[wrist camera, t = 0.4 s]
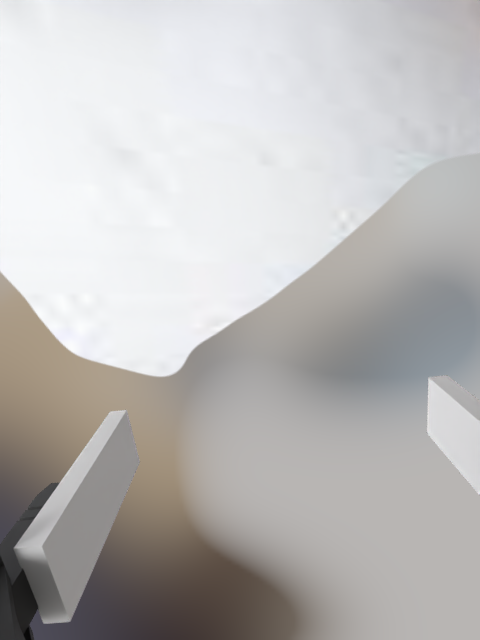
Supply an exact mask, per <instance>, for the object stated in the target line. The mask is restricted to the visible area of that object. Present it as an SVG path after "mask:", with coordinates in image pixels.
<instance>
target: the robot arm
mask: <svg viewBox="0 0 480 640" xmlns="http://www.w3.org/2000/svg"><path fill="white" fill-rule="evenodd" d="M427 419H428V420H427V434H428V435H429V436H430V437H431V438H432V440H433V441H434V442H435V443H436V444H437V445H438V447H439V448H440V449H441V450H442V451H443V453H444V454H445V455H446V456H447V457H448V458H449V460H450V461H451V462H452V463H453V464H454V466H455V467H456V468H457V469H458V470H459V471H460V472H461V474H462V475H463V476H464V477H465V479H466V480H467V481H468V482H469V483H470V485H471V486H472V487H473V488H474V489H475V490H476V492H477V493H478V494H479V495H480V401H479V400H478V399H477V398H476V397H474V396H473V395H472V394H470V393H469V392H468V391H466V390H465V389H464V388H462V387H461V386H460V385H459V384H458V383H456V382H455V381H454V380H452V379H451V378H450V377H448V376H447V375H445V376H436V377H429V378H428V418H427ZM139 463H140V461H139V457H138V453H137V449H136V444H135V441H134V437H133V433H132V429H131V424H130V421H129V417H128V413H127V410H121V411H113V412H110V413H109V414H108V415H107V417H106V418H105V420H104V421H103V422H102V424H101V426H100V427H99V428H98V430H97V431H96V432H95V434H94V436H93V437H92V438H91V440H90V441H89V442H88V444H87V445H86V447H85V448H84V449H83V451H82V452H81V454H80V455H79V456H78V458H77V459H76V461H75V462H74V464H73V465H72V467H71V468H70V469H69V471H68V472H67V473H66V475H65V476H64V478H63V479H62V481H61V482H60V483H51V484H50V485H49V486H48V487H46V488H45V489H44V490H43V491H42V492H40V493H39V494H38V495H37V496H36V497H35V499H34V500H33V501H32V503H31V504H30V505H29V507H28V510H26V511H25V512H24V513H23V515H22V516H21V517H20V520H19V521H17V523H16V524H15V525H14V527H13V528H12V529H11V531H10V532H9V533H8V534H7V536H6V537H5V538H4V540H3V541H2V543H1V544H0V640H34V637H33V632H32V630H31V627H30V625H29V624H30V622H31V620H32V619H33V617H34V615H35V613H36V611H37V609H38V610H39V613H40V615H41V618H42V621H43V623H44V624H46V623H60V622H70V621H71V618H72V616H73V614H74V611H75V609H76V607H77V604H78V602H79V600H80V598H81V595H82V593H83V591H84V589H85V586H86V584H87V582H88V579H89V577H90V575H91V572H92V570H93V568H94V566H95V563H96V561H97V559H98V557H99V554H100V552H101V550H102V547H103V545H104V543H105V541H106V538H107V536H108V534H109V531H110V529H111V527H112V525H113V522H114V520H115V518H116V515H117V513H118V511H119V509H120V506H121V504H122V502H123V499H124V497H125V495H126V493H127V490H128V488H129V486H130V483H131V481H132V479H133V477H134V474H135V472H136V470H137V467H138V465H139Z"/></svg>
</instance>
